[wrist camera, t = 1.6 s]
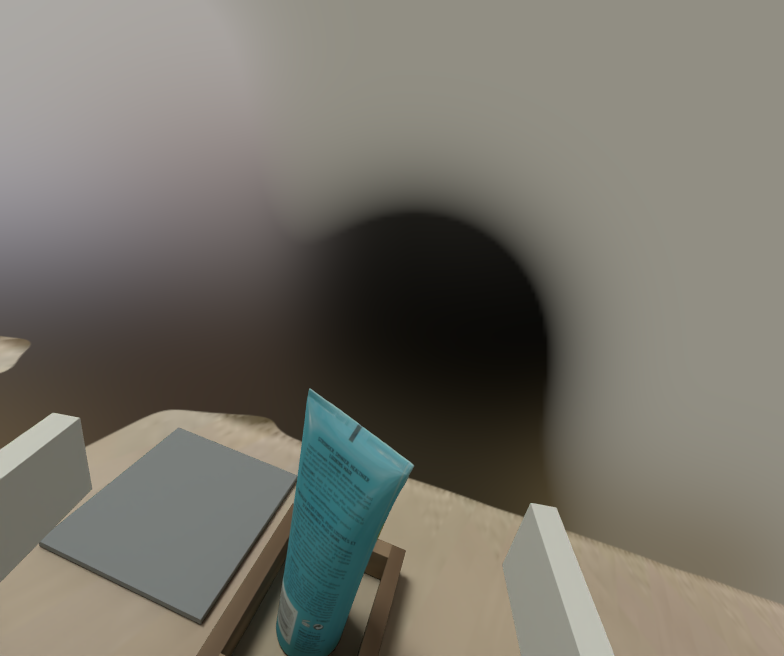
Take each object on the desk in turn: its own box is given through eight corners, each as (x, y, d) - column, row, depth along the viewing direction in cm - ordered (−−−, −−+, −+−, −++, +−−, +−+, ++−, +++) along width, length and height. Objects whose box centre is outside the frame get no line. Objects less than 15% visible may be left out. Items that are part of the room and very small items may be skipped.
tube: (368, 629, 29) (436, 438, 21) (325, 696, 25) (388, 494, 17) (296, 565, 32) (330, 375, 24) (248, 616, 28) (269, 410, 20)
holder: (189, 690, 24) (189, 667, 23) (289, 525, 35) (292, 503, 34) (343, 771, 23) (352, 750, 21) (397, 572, 34) (405, 550, 32)
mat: (39, 545, 29) (38, 540, 29) (178, 431, 42) (178, 427, 42) (200, 624, 27) (200, 619, 27) (296, 479, 40) (297, 475, 40)
